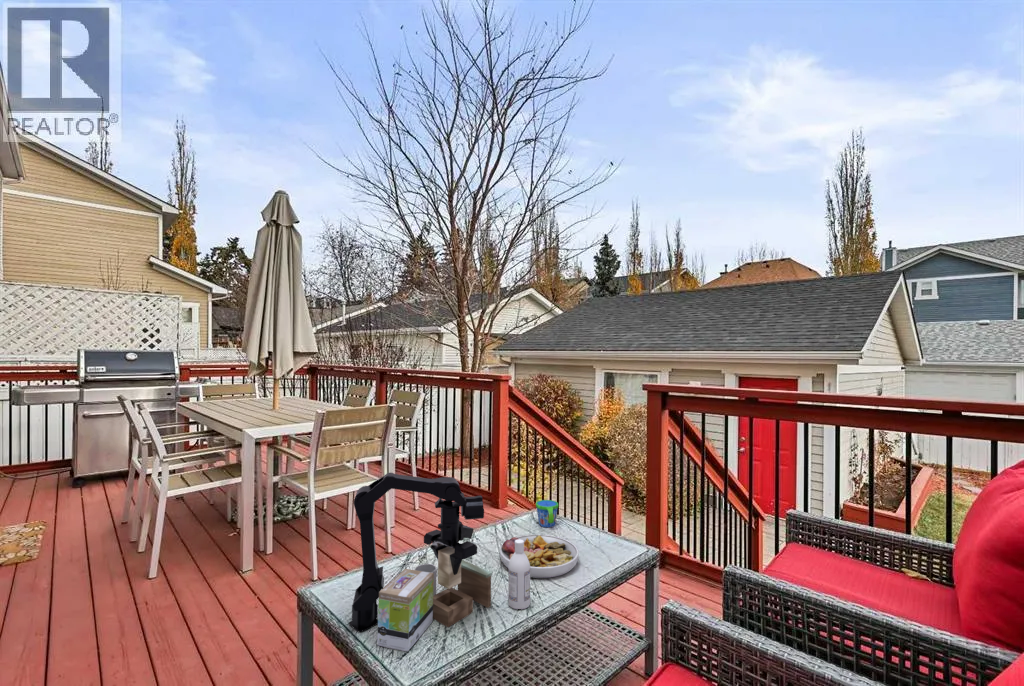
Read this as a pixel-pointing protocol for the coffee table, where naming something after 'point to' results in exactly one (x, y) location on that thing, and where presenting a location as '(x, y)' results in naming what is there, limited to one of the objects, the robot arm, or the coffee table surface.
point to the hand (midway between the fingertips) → (449, 571)
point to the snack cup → (547, 512)
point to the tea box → (405, 609)
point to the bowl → (543, 554)
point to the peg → (447, 569)
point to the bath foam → (519, 578)
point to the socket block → (463, 595)
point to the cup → (430, 569)
